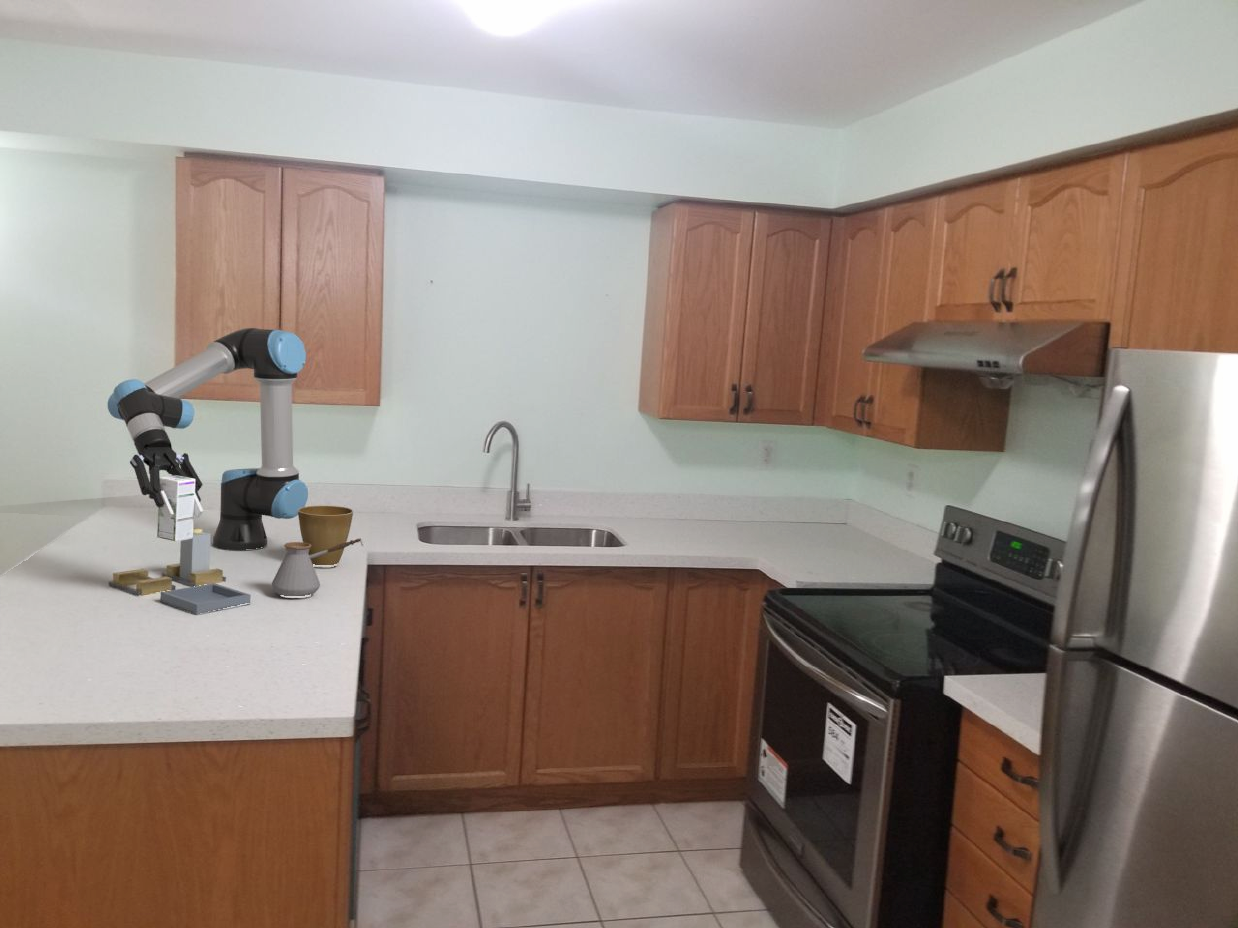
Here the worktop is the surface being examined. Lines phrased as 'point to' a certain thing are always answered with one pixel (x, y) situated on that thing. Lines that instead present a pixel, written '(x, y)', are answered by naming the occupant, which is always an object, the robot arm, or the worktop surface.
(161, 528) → the syrup box
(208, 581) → the clips
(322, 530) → the plant pot
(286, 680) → the worktop surface
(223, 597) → the tray
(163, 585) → the tan block holder
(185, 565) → the grey block
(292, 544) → the coffee pot
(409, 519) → the worktop surface
